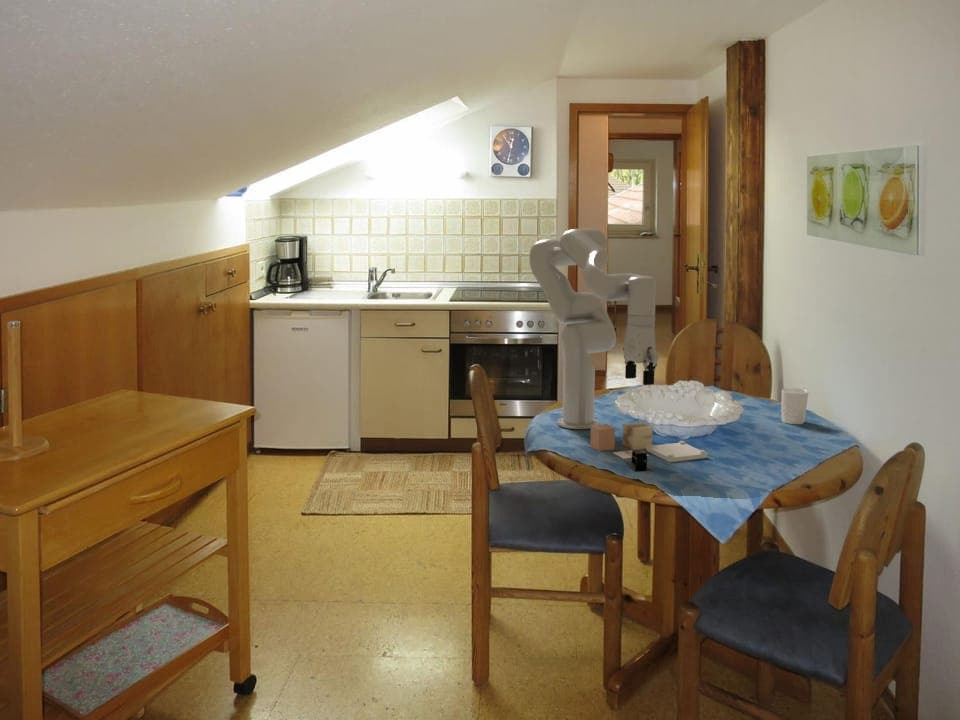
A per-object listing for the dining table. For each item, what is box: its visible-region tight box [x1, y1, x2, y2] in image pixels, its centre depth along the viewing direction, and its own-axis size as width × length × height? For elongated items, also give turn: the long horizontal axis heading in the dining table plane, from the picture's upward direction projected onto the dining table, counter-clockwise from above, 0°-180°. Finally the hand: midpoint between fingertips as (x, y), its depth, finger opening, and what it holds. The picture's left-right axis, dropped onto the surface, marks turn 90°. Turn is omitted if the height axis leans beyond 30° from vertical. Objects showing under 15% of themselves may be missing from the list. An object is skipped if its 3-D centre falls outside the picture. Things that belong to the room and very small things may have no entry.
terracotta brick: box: [589, 423, 616, 452], centre depth 268 cm, size 5×5×6 cm
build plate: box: [645, 440, 708, 463], centre depth 262 cm, size 12×12×2 cm
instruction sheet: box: [612, 449, 650, 460], centre depth 262 cm, size 6×8×1 cm
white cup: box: [780, 387, 809, 425], centre depth 297 cm, size 8×8×10 cm
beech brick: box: [621, 422, 653, 450], centre depth 270 cm, size 6×6×6 cm
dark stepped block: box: [623, 449, 656, 473], centre depth 251 cm, size 12×7×5 cm, turn 9°
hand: (639, 381), depth 266 cm, fingers open, 9 cm apart
